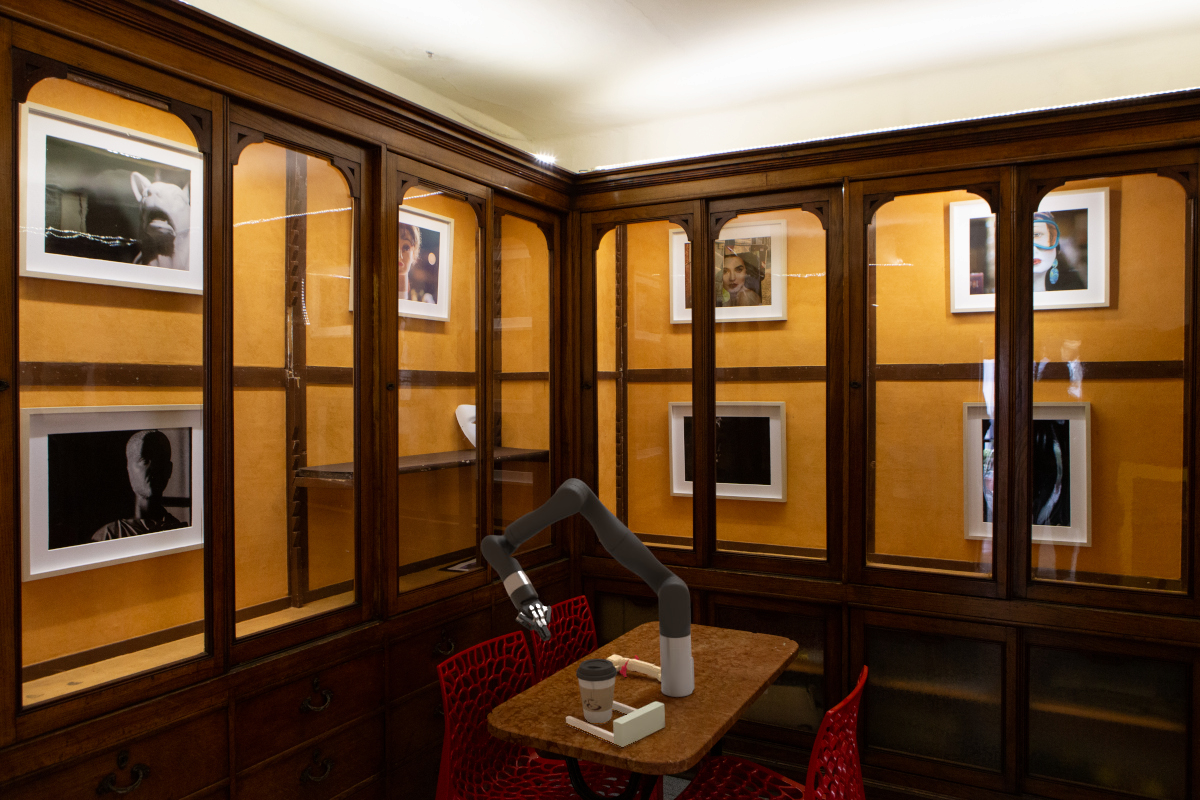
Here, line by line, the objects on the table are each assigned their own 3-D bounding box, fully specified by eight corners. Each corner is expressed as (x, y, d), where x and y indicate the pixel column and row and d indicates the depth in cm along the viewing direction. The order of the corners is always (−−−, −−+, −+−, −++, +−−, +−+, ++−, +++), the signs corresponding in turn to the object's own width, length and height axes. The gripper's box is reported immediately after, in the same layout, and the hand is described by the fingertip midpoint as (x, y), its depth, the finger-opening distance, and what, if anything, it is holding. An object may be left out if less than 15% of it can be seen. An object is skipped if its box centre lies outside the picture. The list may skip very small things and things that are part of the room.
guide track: (608, 705, 215) (608, 684, 216) (665, 726, 201) (664, 704, 201) (566, 724, 204) (565, 702, 204) (622, 748, 189) (621, 724, 189)
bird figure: (679, 681, 236) (611, 662, 250) (680, 654, 236) (612, 636, 249) (664, 692, 228) (595, 672, 241) (665, 664, 227) (596, 645, 241)
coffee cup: (571, 725, 203) (569, 670, 203) (584, 708, 214) (583, 656, 214) (612, 729, 200) (610, 673, 200) (623, 712, 211) (621, 658, 211)
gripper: (508, 586, 223) (536, 637, 214) (542, 579, 232) (570, 627, 223) (497, 601, 226) (524, 651, 218) (531, 593, 236) (558, 641, 227)
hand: (547, 639), depth 221 cm, fingers closed
